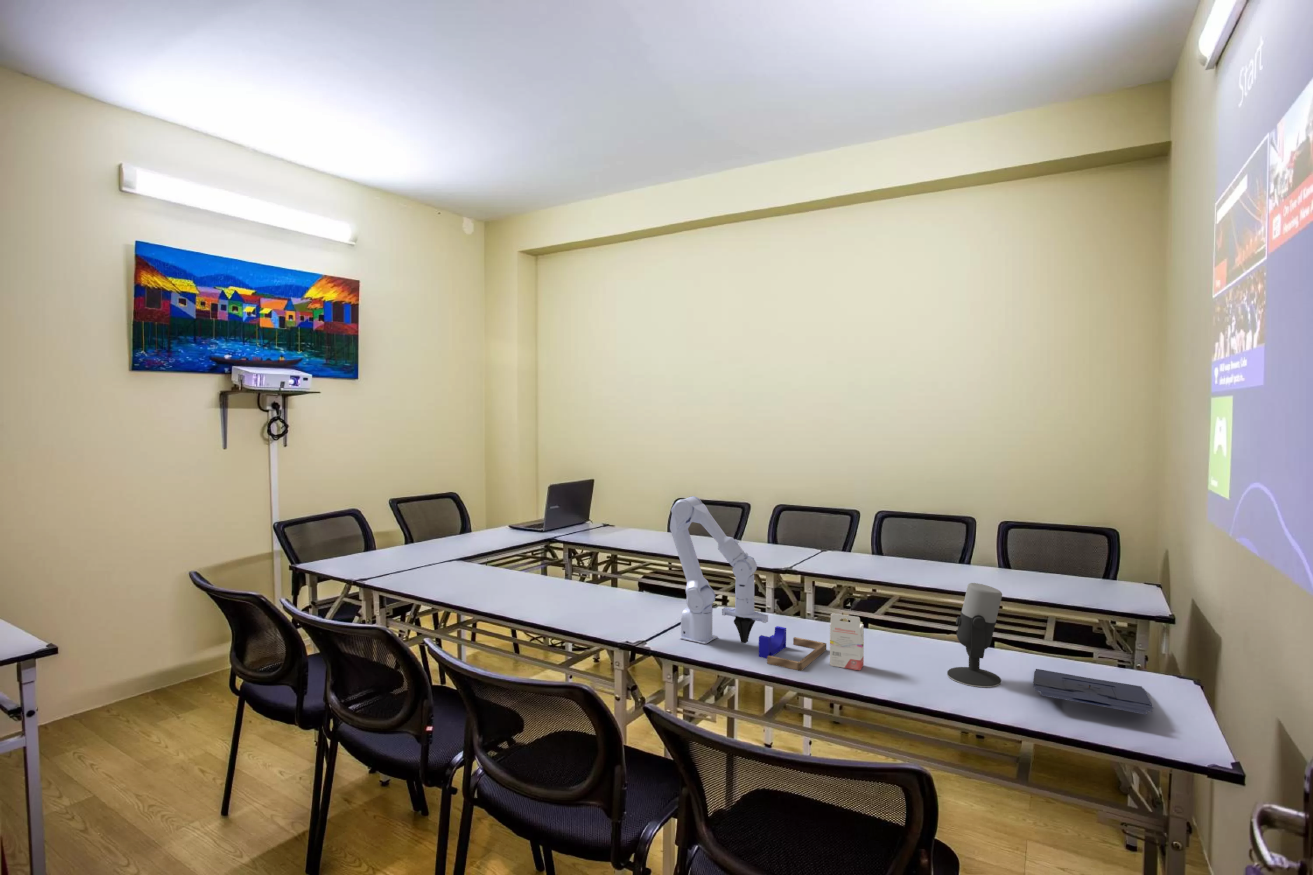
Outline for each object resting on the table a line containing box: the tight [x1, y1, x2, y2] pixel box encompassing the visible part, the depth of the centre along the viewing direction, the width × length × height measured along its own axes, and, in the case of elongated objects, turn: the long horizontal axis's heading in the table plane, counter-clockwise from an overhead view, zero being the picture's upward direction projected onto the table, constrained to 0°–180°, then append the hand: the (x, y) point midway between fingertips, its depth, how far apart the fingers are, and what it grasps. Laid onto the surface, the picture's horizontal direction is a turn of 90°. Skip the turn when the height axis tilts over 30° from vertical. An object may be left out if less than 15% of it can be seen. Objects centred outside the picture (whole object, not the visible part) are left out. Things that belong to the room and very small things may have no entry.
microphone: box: [946, 582, 1003, 688], centre depth 182 cm, size 13×13×25 cm
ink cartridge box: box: [829, 613, 865, 671], centre depth 191 cm, size 9×5×15 cm, turn 62°
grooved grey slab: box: [1032, 668, 1154, 716], centre depth 169 cm, size 24×30×4 cm
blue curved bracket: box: [758, 625, 787, 659], centre depth 202 cm, size 12×4×6 cm, turn 144°
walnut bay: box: [766, 636, 827, 672], centre depth 198 cm, size 10×20×2 cm, turn 147°
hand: (744, 642), depth 207 cm, fingers closed
